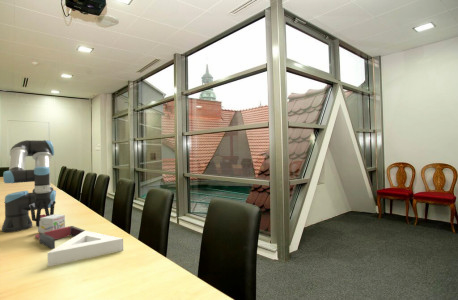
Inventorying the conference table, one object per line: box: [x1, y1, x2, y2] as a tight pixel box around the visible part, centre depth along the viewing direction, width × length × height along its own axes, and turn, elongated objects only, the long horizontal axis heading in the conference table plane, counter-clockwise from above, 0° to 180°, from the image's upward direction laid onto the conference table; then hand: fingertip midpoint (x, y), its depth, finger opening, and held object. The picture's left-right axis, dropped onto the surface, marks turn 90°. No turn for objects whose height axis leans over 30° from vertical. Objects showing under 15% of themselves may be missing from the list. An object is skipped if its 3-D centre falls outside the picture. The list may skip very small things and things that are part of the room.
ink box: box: [40, 213, 66, 233], centre depth 146 cm, size 9×8×12 cm
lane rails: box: [38, 225, 86, 250], centre depth 139 cm, size 16×16×5 cm
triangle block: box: [47, 230, 124, 267], centre depth 127 cm, size 30×26×6 cm
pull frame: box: [34, 213, 71, 240], centre depth 149 cm, size 24×12×10 cm, turn 54°
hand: (43, 230), depth 154 cm, fingers closed on pull frame, 3 cm apart
